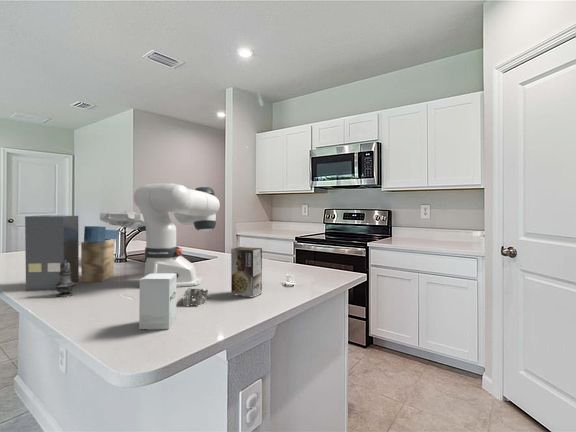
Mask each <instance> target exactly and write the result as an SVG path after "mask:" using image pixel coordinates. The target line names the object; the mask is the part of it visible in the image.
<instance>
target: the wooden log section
mask: <svg viewBox="0 0 576 432" xmlns="http://www.w3.org/2000/svg"><path fill="white" fill-rule="evenodd" d="M114 240H115V239H105V242H84V241H82V242H81V243H80V244H81V245H80V248H81V249H80V250H81V256H80V257H81V258H80V259H81V260H80V261H81V268H80V269H81V274H80V275H81V276H80V278H81V282H84V283H86V282H104V281H106V280H107V279H109V278H111V277H113V276H114V274H115V272H114V271H115V270H114V269H115V259H114V257H115V256H114V254H115V250H114V249H115V243H114V242H115V241H114Z"/></svg>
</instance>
